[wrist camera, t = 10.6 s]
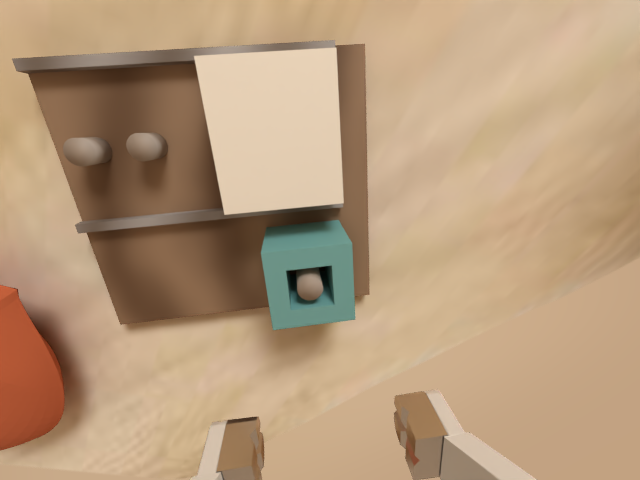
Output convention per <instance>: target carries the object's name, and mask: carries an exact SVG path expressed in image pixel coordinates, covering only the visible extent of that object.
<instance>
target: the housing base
mask: <svg viewBox="0 0 640 480" xmlns="http://www.w3.org/2000/svg"><path fill="white" fill-rule="evenodd" d="M319 48H336V49H337V70H338V92H339V113H340V134H341V155H342V177H343V198H344V203H341V204H331V205H320V206H310V207H300V208H290V209H279V210H269V211H259V212H249V213H238V214H228V215H224V210H223V205H222V199H221V194H220V189H219V184H218V179H217V173H216V168H215V163H214V158H213V153H212V147H211V142H210V137H209V132H208V127H207V121H206V116H205V111H204V106H203V101H202V96H201V90H200V85H199V80H198V75H197V70H196V64H195V59H194V56H201V55H217V54H234V53H251V52H268V51H285V50H302V49H319ZM12 60H13V63H14V66H15V68H16V71H19V72H23V73H27V74H29V77H30V80H31V83H32V85H33V88H34V91H35V93H36V96H37V99H38V102H39V104H40V107H41V110H42V112H43V115H44V118H45V121H46V123H47V126H48V129H49V131H50V134H51V137H52V140H53V142H54V145H55V148H56V150H57V153H58V156H59V159H60V161H61V164H62V167H63V169H64V172H65V175H66V178H67V180H68V183H69V186H70V189H71V191H72V194H73V197H74V199H75V202H76V205H77V208H78V210H79V213H80V216H81V218H82V222H80V223H78V224H76V225H75V226H76V229H77V232H78V233H87V235H88V237H89V240H90V243H91V246H92V248H93V251H94V254H95V256H96V259H97V262H98V265H99V267H100V270H101V273H102V275H103V278H104V281H105V284H106V286H107V289H108V292H109V294H110V297H111V300H112V303H113V305H114V308H115V311H116V313H117V316H118V319H119V322H120V324H130V323H138V322H146V321H154V320H163V319H171V318H179V317H187V316H196V315H204V314H212V313H221V312H229V311H237V310H245V309H254V308H262V307H269V302H268V295H267V289H266V283H265V276H264V270H263V264H262V257H261V250H262V245H263V241H264V236H265V231H266V227H275V226H284V225H294V224H304V223H313V222H323V221H332V220H339V221H340V223H341V225H342V227H343V228H344V230H345V232H346V233H347V235H348V237H349V239H350V240H351V242H352V250H353V275H354V296H361V295H369V244H368V189H367V134H366V79H365V44H354V45H337V46H335V40H329V41H312V42H294V43H277V44H259V45H242V46H225V47H207V48H190V49H172V50H155V51H137V52H120V53H103V54H85V55H68V56H50V57H33V58H16V59H12ZM320 271H325V266H323V267H314V268H305V269H297V270H290V275H294V274H296V277H297V291H298V294H299V296H300V297H301V298H303V299H305V300H315V299H317V298H318V297H320V295H321V294H322V292H323V285H322V280H321V276H320Z"/></svg>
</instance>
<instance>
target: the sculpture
mask: <svg viewBox="0 0 640 480" xmlns="http://www.w3.org/2000/svg"><path fill="white" fill-rule="evenodd" d="M64 401H65V398H64V385H63V378H62V373H61V369H60V366H59V363H58V361H57V358H56V356H55V354H54V352H53V350H52V349H51V347H50V346H49V345H48V343H47V342H46V341H45V339H44V338H43V337H42V336H41V335H40V334H39V332H38V331H37V330H36V328H35V326H34V325H33V323H32V321H31V320H30V318H29V316H28V314H27V313H26V311H25V309H24V307H23V305H22V303H21V301H20V299H19V295H18V289H15V288H10V287H6V286H2V285H0V450H4V449H7V448H11V447H14V446H17V445H20V444H23V443H26V442H28V441H31V440H33V439H35V438H38V437H40V436H42V435H44V434H46V433H48V432H49V431H50V430H52V429H53V428H54V427H55V426H56V425H57V424H58V422H59V421H60V419H61V417H62V414H63V411H64Z"/></svg>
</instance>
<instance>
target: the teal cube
mask: <svg viewBox="0 0 640 480" xmlns="http://www.w3.org/2000/svg"><path fill="white" fill-rule="evenodd" d="M261 257H262V264H263V270H264V276H265V283H266V289H267V295H268V302H269V308H270V314H271V321H272V327H273V330H278V329H286V328H294V327H301V326H309V325H317V324H325V323H333V322H340V321H348V320H355V299H354V275H353V250H352V242H351V240H350V239H349V237H348V235H347V233H346V232H345V230H344V228H343V227H342V225H341V223H340V221H339V220H332V221H323V222H313V223H304V224H294V225H284V226H275V227H266V231H265V236H264V241H263V245H262V250H261ZM323 266H325V271H320V276H321V280H322V285H323V292H322V294H321V295H320V297H318V298H317V299H315V300H305V299H303V298H301V297H300V296H299V294H298V291H297V277H296V274H294V275H290V270H297V269H305V268H314V267H323Z"/></svg>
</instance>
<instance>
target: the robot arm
mask: <svg viewBox="0 0 640 480" xmlns="http://www.w3.org/2000/svg"><path fill="white" fill-rule="evenodd" d="M394 404H395V407H396V409H397V411H396V412H395V413H394V422H395V429H396V433H397V436H398V439H399V442H400V445H402V446H403V447H404V448H405V449H406V457H405V458H406V461H407V464H408V467H409V469H410V472H411V475H412V477H413V480H420V479H428V478H435V477H440V479H441V480H537V479H535V478H534V477H532V476H531V475H529V474H528V473H527V472H525V471H524V470H522V469H521V468H520V467H518V466H517V465H515V464H514V463H513V462H511V461H510V460H508V459H507V458H505V457H504V456H502V455H501V454H500V453H498V452H497V451H495V450H494V449H493V448H491V447H490V446H488V445H487V444H485V443H484V442H483V441H481V440H480V439H478V438H477V437H476V436H474V435H473V434H471V433H470V432H469V433H465V432H464V430H463V428H462V427H461V425H460V424H459V422H458V420H457V418H456V417H455V415H454V414H453V412H452V410H451V408H450V407H449V405H448V403H447V402H446V400H445V398H444V397H443V395H442V393H441V392H440V391H439V390H438V389H437V390H430V391H424V392H422V391H421V392H415V393H409V394H404V395H396V396H395V400H394ZM263 466H264V440H263V434H262V433H261V432H260V420H259V417H250V418H241V419H233V420H225V421H218V422H212V424H211V426H210V428H209V431H208V435H207V439H206V443H205V446H204V450H203V454H202V458H201V462H200V465H199V469H198V473H197V476H193V477H191V478H190V480H262V477H261V469H262V468H263Z"/></svg>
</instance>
